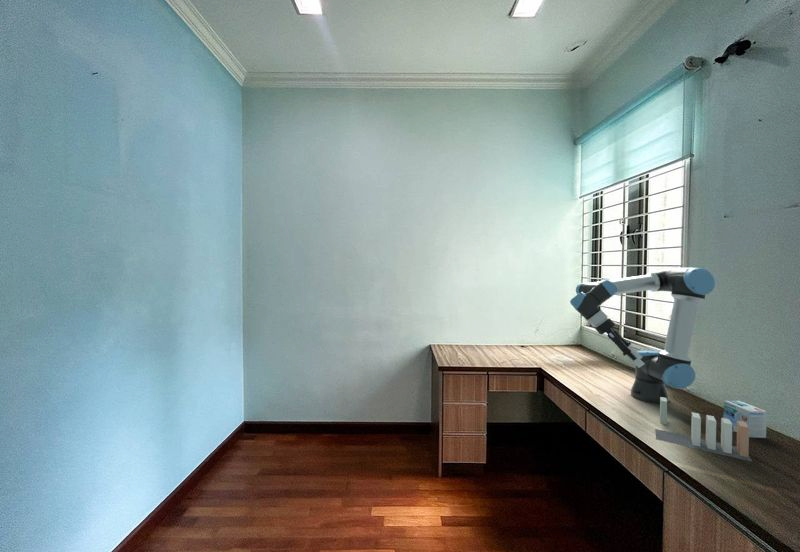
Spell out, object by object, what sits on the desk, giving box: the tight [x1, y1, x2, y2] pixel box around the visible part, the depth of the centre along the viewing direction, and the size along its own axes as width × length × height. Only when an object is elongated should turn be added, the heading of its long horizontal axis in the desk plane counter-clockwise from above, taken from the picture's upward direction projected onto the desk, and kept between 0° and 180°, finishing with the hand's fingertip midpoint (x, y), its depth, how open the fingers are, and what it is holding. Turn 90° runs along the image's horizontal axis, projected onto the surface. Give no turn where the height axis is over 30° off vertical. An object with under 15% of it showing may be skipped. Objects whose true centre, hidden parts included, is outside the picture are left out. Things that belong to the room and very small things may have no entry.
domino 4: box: [720, 417, 733, 454], centre depth 117 cm, size 5×2×10 cm, turn 145°
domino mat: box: [654, 428, 753, 462], centre depth 121 cm, size 10×25×1 cm, turn 55°
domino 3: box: [705, 414, 717, 450], centre depth 120 cm, size 5×2×10 cm, turn 145°
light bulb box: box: [722, 400, 768, 439], centre depth 131 cm, size 11×7×11 cm, turn 178°
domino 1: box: [659, 397, 668, 425], centre depth 139 cm, size 5×2×10 cm, turn 145°
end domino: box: [736, 421, 750, 457], centre depth 115 cm, size 5×2×10 cm, turn 145°
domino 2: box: [690, 411, 702, 446], centre depth 122 cm, size 5×2×10 cm, turn 145°
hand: (640, 362), depth 143 cm, fingers open, 13 cm apart
